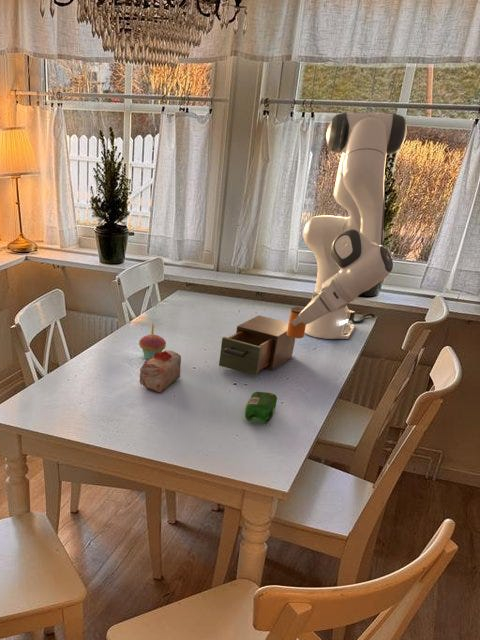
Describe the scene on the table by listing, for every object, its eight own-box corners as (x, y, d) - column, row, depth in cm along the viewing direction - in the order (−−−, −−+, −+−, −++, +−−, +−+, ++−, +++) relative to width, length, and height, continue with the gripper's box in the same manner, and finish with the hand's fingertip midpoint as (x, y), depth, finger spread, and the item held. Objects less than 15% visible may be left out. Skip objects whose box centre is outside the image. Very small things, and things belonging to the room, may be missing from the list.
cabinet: (271, 370, 202) (277, 336, 197) (232, 358, 209) (237, 326, 204) (291, 357, 213) (297, 324, 207) (253, 346, 219) (258, 315, 214)
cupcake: (162, 363, 203) (165, 326, 197) (135, 360, 205) (137, 323, 198) (166, 354, 211) (169, 317, 204) (140, 351, 212) (142, 314, 206)
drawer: (249, 380, 192) (253, 351, 188) (212, 369, 199) (215, 341, 194) (275, 363, 205) (280, 336, 200) (239, 353, 211) (243, 326, 206)
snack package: (240, 426, 169) (243, 408, 166) (251, 402, 181) (254, 385, 178) (268, 432, 167) (271, 413, 164) (276, 407, 179) (280, 390, 176)
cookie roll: (290, 331, 197) (295, 305, 193) (306, 335, 195) (311, 309, 191) (283, 335, 194) (288, 309, 190) (299, 339, 191) (304, 313, 187)
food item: (161, 395, 183) (164, 362, 178) (136, 389, 186) (138, 356, 181) (182, 379, 193) (185, 347, 188) (158, 373, 196) (160, 342, 191)
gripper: (337, 275, 191) (298, 302, 200) (322, 292, 175) (280, 321, 184) (349, 292, 192) (309, 319, 201) (335, 311, 176) (293, 339, 185)
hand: (295, 320), depth 192 cm, fingers closed on cookie roll, 5 cm apart
